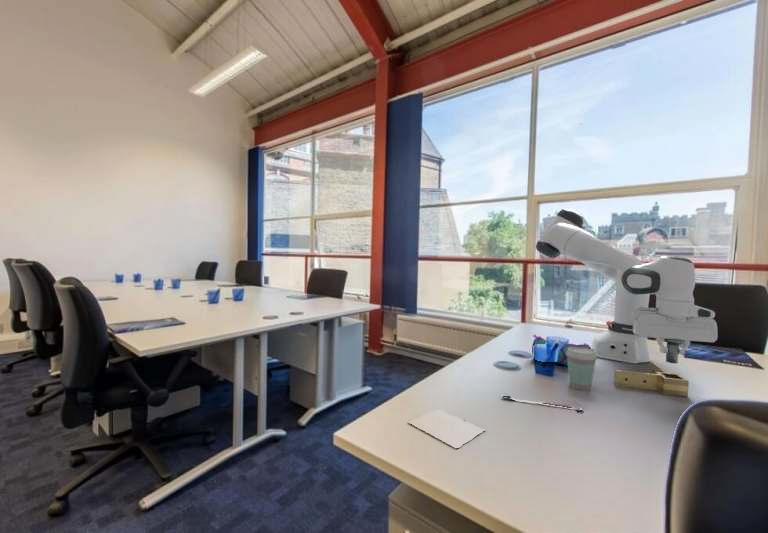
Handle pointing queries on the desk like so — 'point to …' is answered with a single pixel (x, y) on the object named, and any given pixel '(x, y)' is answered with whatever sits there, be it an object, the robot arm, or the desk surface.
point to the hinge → (653, 380)
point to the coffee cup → (580, 367)
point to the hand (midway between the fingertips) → (672, 353)
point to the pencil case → (562, 353)
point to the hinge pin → (672, 350)
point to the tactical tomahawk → (554, 404)
